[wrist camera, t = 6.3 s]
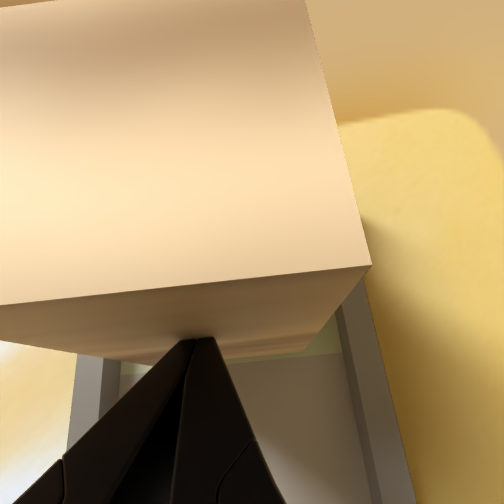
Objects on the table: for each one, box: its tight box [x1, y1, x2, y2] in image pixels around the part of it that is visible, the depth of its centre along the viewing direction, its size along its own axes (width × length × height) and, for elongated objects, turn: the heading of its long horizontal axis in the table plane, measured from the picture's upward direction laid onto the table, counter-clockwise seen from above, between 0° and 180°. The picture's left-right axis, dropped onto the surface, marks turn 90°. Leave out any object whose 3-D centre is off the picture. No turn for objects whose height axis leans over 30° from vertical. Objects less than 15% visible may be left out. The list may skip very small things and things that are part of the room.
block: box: [0, 0, 372, 366], centre depth 10 cm, size 6×6×10 cm
